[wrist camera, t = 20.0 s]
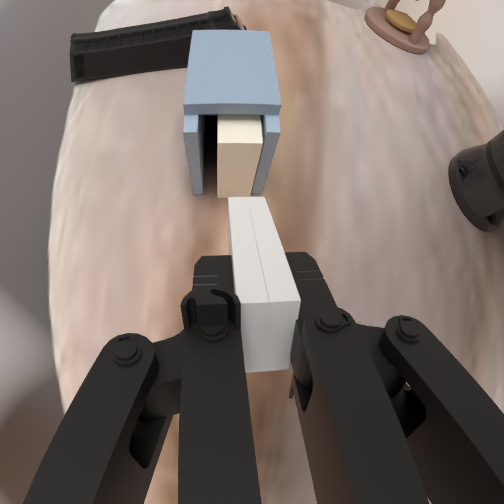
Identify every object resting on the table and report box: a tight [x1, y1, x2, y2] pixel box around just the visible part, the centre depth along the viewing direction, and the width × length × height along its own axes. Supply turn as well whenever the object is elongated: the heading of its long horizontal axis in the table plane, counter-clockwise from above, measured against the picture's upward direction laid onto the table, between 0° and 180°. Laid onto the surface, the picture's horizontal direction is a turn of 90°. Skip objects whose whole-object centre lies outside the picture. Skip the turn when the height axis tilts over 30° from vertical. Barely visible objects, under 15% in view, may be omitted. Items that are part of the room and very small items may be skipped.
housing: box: [183, 30, 281, 195], centre depth 32 cm, size 14×8×14 cm, turn 3°
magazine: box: [70, 7, 246, 82], centre depth 37 cm, size 17×3×30 cm
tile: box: [217, 114, 263, 198], centre depth 33 cm, size 13×4×12 cm, turn 3°
